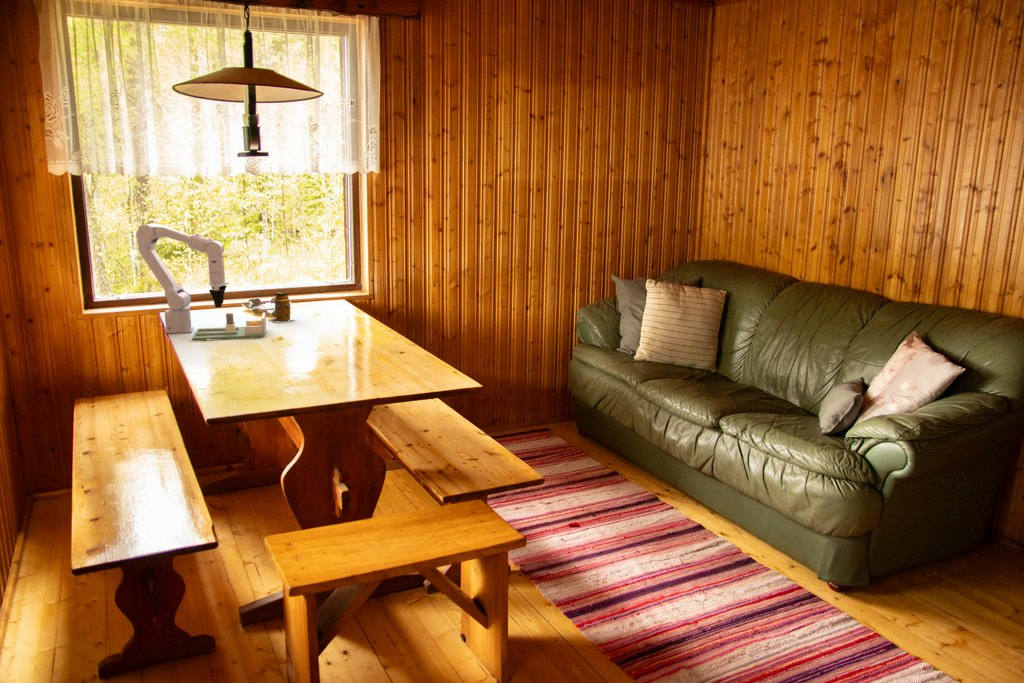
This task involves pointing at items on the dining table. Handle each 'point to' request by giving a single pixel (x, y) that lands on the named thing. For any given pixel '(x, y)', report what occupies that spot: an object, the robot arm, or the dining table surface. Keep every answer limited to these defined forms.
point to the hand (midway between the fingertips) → (219, 305)
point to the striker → (230, 323)
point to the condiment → (281, 307)
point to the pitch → (222, 333)
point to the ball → (253, 323)
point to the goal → (256, 329)
